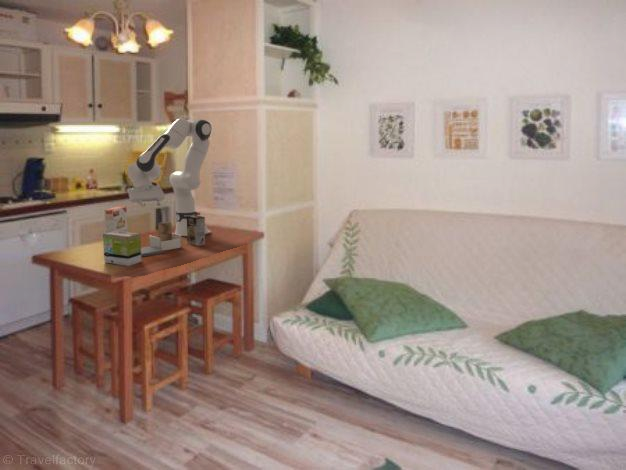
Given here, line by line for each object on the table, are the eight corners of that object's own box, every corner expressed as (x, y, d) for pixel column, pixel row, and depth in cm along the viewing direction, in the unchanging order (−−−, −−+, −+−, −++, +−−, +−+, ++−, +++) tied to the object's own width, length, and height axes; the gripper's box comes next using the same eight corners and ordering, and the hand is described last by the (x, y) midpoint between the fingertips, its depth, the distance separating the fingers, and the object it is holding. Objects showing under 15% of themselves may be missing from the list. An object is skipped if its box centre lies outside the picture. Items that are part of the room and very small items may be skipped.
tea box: (103, 263, 270) (101, 233, 268) (117, 258, 280) (116, 230, 277) (128, 266, 265) (127, 236, 262) (142, 261, 274) (140, 232, 271)
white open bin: (170, 244, 315) (170, 232, 314) (181, 247, 307) (181, 235, 306) (149, 247, 306) (149, 235, 304) (160, 251, 298) (159, 238, 297)
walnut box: (168, 246, 310) (167, 221, 307) (172, 247, 307) (171, 222, 304) (158, 247, 306) (157, 222, 303) (162, 249, 303) (161, 223, 300)
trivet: (149, 248, 303) (149, 246, 303) (163, 253, 293) (163, 250, 293) (125, 252, 293) (125, 249, 293) (138, 257, 283) (138, 254, 283)
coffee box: (187, 243, 318) (186, 215, 315) (196, 242, 322) (195, 214, 319) (196, 246, 312) (195, 217, 308) (205, 244, 316) (205, 216, 313)
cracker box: (115, 247, 306) (113, 209, 302) (105, 246, 307) (103, 209, 303) (128, 242, 319) (126, 206, 316) (119, 241, 321) (117, 206, 317)
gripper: (127, 184, 306) (136, 204, 301) (160, 183, 321) (169, 201, 316) (123, 191, 310) (132, 211, 305) (156, 190, 325) (165, 208, 320)
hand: (151, 206), depth 311 cm, fingers open, 8 cm apart
